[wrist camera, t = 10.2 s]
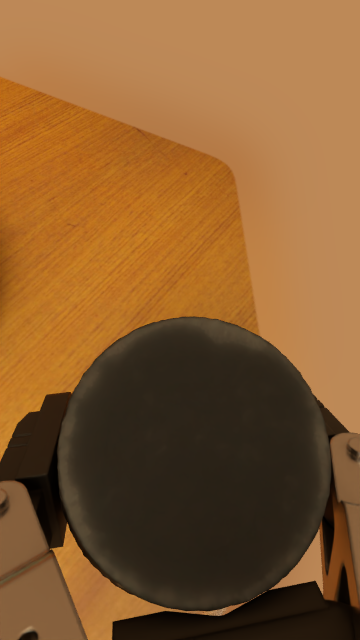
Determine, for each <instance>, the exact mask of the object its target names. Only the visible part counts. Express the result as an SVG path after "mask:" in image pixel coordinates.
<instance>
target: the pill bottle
mask: <svg viewBox="0 0 360 640" xmlns="http://www.w3.org/2000/svg"><path fill="white" fill-rule="evenodd" d="M57 455H58V466H57V470H58V487H59V497H60V502H61V506H62V511H63V514H64V516H65V519H66V521H67V523H68V525H69V528H70V531H71V533H72V534H73V537H74V538H75V540H76V542H77V544H78V546H79V547H80V549H81V550H82V552H83V555H84V556H85V557H86V558H87V559H88V560H89V561H90V563H91V564H92V565H93V566H94V567H95V568H96V569H98V570H99V571H100V572H101V574H102V575H103V576H104V577H106V578H108V579H110V581H111V582H112V583H113V584H114V585H115V586H117V587H119V588H121V589H123V590H124V591H126V592H127V593H129V594H132V595H136V596H137V597H138V598H141V599H143V600H146V601H148V602H150V603H153V604H156V605H159V606H162V607H166V608H171V609H178V610H184V611H213V610H218V609H222V608H225V607H228V606H231V605H238V604H241V603H244V602H247V601H250V600H251V599H253V598H255V597H256V596H258V595H259V594H262V593H263V592H265V591H268V590H269V589H271V588H272V587H274V586H275V585H276V584H277V583H279V582H280V580H281V579H282V578H284V577H286V576H287V575H288V574H289V572H290V571H291V570H292V569H293V568H294V567H295V566H296V565H297V564H298V562H299V561H300V560H301V558H302V557H303V555H304V554H305V552H306V551H307V549H308V548H309V546H310V544H311V543H312V541H313V539H314V538H315V536H316V534H317V532H318V529H319V527H320V524H321V521H322V518H323V516H324V513H325V508H326V504H327V500H328V497H329V494H330V481H331V454H330V446H329V438H328V435H327V431H326V425H325V421H324V418H323V415H322V413H321V410H320V408H319V406H318V404H317V402H316V400H315V398H314V396H313V394H312V392H311V389H310V387H309V386H308V384H307V383H306V381H305V380H304V379H303V377H302V375H301V374H300V372H299V371H298V370H297V369H296V367H295V366H294V365H293V364H292V363H291V362H290V361H289V360H288V359H287V357H286V356H284V355H283V354H282V353H281V352H280V351H279V350H278V349H277V348H276V347H274V346H273V345H272V344H271V343H269V342H268V341H266V340H264V339H263V338H262V337H260V336H258V335H256V334H254V333H252V332H250V331H248V330H246V329H244V328H242V327H239V326H238V325H235V324H231V323H228V322H224V321H221V320H218V319H209V318H205V317H180V318H172V319H167V320H161V321H159V322H153V323H150V324H147V325H145V326H142V327H140V328H137V329H136V330H134V331H132V332H130V333H129V334H128V335H126V336H124V337H122V338H120V339H118V340H117V341H116V342H114V343H113V344H112V345H111V346H109V347H108V348H107V349H106V350H105V351H104V352H103V353H102V354H101V355H100V356H99V357H97V358H96V359H95V361H94V362H93V363H92V365H91V366H90V368H89V369H88V370H87V371H86V372H85V373H84V374H83V376H82V378H81V380H80V382H79V384H78V385H77V386H76V388H75V389H74V391H73V393H72V395H71V397H70V399H69V401H68V405H67V409H66V412H65V416H64V418H63V420H62V423H61V430H60V436H59V441H58V447H57Z"/></svg>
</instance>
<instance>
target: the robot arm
mask: <svg viewBox="0 0 360 640" xmlns="http://www.w3.org/2000/svg"><path fill="white" fill-rule="evenodd" d="M71 395H72V394H71V392H66V393H57V394H48V395H46V397H45V399H44V402H43V404H42V407H41V410H40V411H37V412H29V413H28V414H27V415H26V416H25V417H24V418H23V419H22V420H21V421H20V422H19V423H18V424H17V426H16V428H15V431H14V433H13V435H12V438H11V439H10V442H9V444H8V448H7V449H6V451H5V453H4V455H3V457H2V459H1V462H0V640H88V639H87V636H86V634H85V631H84V628H83V626H82V623H81V621H80V618H79V616H78V613H77V610H76V608H75V605H74V603H73V600H72V597H71V595H70V592H69V590H68V587H67V585H66V582H65V579H64V577H63V574H62V572H61V569H60V566H59V564H58V561H57V559H56V556H55V554H54V552H53V550H52V549H51V548H57V547H63V544H64V538H65V532H66V526H67V521H66V519H65V516H64V514H63V511H62V506H61V502H60V497H59V487H58V470H57V466H58V455H57V447H58V441H59V436H60V430H61V423H62V420H63V418H64V416H65V412H66V409H67V405H68V401H69V399H70V397H71ZM313 396H314V395H313ZM314 398H315V400H316V402H317V404H318V406H319V408H320V410H321V413H322V415H323V418H324V421H325V425H326V431H327V435H328V438H329V446H330V454H331V481H330V494H329V497H328V500H327V504H326V508H325V513H324V516H323V518H322V521H321V524H320V527H319V530H320V544H321V559H322V574H323V595H322V593H321V591H320V589H319V587H318V585H317V583H316V581H312V582H307V583H302V584H297V585H292V586H287V587H282V588H278V589H272V590H268V591H266V592H265V593H263V594H261V595H259V596H258V597H256V598H254V599H252V600H250V601H249V602H247V603H245V604H243V605H242V606H240V607H238V608H236V609H235V610H233V611H231V612H229V613H227V614H225V615H222V616H212V615H201V614H191V613H181V612H170V611H163V612H158V613H153V614H148V615H144V616H139V617H134V618H129V619H124V620H119V621H114V622H113V629H112V640H360V434H357V433H350V432H349V431H348V430H347V429H346V428H345V427H344V426H343V425H342V424H341V423H340V422H339V421H338V420H337V419H336V418H335V417H334V416H333V415H332V413H331V412H330V411H329V410H328V409H327V408H324V405H323V404H322V403H321V402H320V401H319V400H317V398H316V397H315V396H314ZM50 549H51V550H50Z"/></svg>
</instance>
